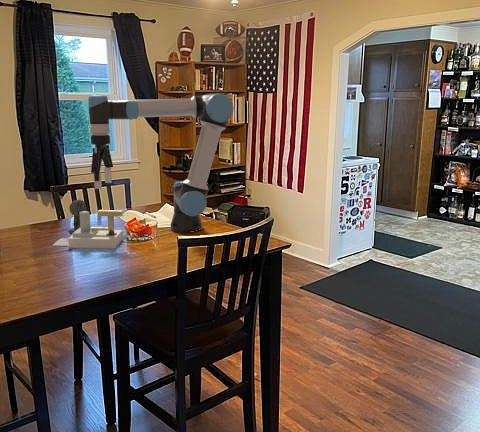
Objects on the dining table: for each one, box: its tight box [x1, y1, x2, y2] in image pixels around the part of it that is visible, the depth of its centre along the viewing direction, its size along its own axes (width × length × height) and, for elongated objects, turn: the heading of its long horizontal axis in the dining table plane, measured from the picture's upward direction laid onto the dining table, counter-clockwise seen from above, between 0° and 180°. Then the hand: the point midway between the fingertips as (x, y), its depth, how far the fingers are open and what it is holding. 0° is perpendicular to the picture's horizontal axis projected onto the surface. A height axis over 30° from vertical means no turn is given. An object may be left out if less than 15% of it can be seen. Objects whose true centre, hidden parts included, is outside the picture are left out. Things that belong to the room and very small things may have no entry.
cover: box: [72, 210, 98, 237], centre depth 200 cm, size 8×9×10 cm
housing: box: [68, 229, 124, 249], centre depth 201 cm, size 19×14×4 cm
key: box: [90, 209, 124, 235], centre depth 199 cm, size 14×2×10 cm, turn 90°
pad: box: [51, 237, 69, 247], centre depth 202 cm, size 8×10×1 cm
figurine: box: [67, 199, 87, 235], centre depth 216 cm, size 9×10×15 cm
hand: (103, 185), depth 197 cm, fingers open, 13 cm apart
